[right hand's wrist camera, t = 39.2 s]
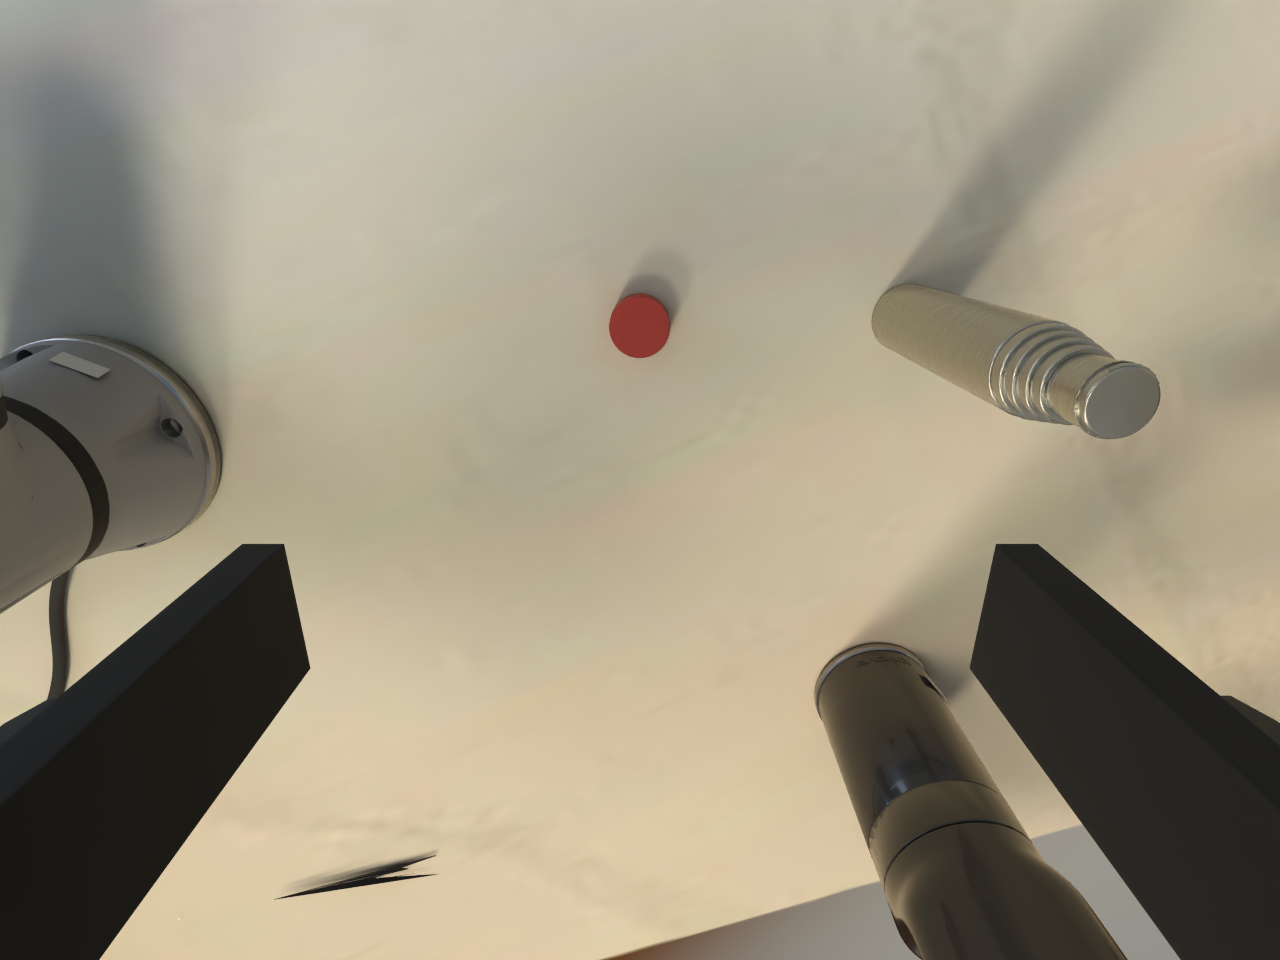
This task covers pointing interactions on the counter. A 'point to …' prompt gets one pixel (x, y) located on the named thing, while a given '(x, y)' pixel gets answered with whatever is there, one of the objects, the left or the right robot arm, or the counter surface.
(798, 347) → the counter surface
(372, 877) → the feather
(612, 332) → the cap
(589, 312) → the counter surface
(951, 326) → the bottle
